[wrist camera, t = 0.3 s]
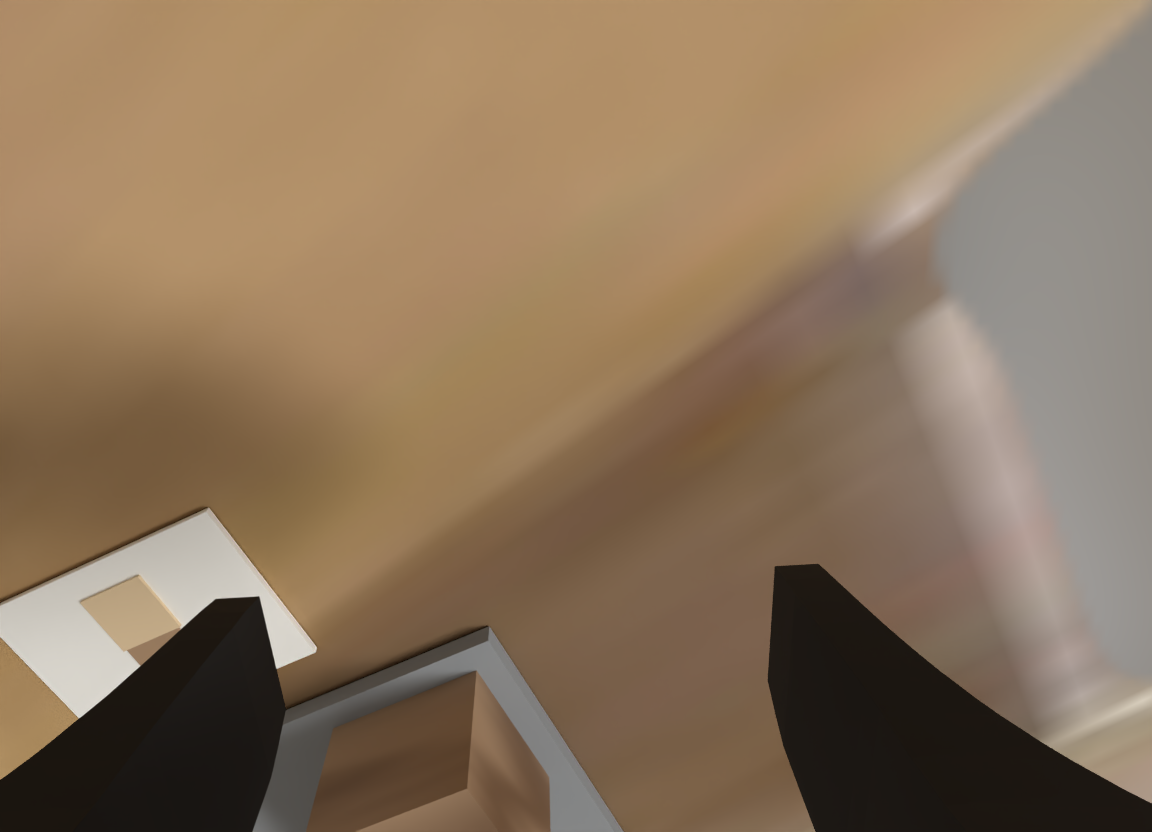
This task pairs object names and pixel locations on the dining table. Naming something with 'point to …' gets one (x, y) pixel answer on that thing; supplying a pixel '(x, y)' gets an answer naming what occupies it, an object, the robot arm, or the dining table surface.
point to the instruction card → (137, 609)
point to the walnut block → (432, 768)
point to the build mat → (307, 728)
